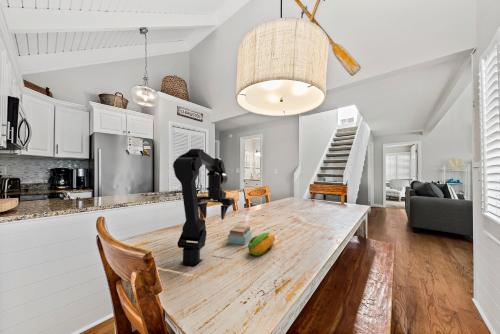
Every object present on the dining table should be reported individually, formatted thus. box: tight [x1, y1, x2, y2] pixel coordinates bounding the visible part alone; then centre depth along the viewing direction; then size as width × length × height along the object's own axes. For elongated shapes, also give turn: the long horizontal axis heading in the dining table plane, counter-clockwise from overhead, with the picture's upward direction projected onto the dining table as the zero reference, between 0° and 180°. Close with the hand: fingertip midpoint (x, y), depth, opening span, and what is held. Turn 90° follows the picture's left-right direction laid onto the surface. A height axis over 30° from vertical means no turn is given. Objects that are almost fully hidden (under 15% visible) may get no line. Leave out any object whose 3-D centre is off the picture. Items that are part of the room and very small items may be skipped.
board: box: [229, 224, 251, 236], centre depth 99 cm, size 10×6×2 cm, turn 162°
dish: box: [227, 229, 253, 246], centre depth 99 cm, size 10×9×4 cm
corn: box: [247, 232, 276, 257], centre depth 89 cm, size 7×8×20 cm
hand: (213, 218), depth 96 cm, fingers open, 9 cm apart
